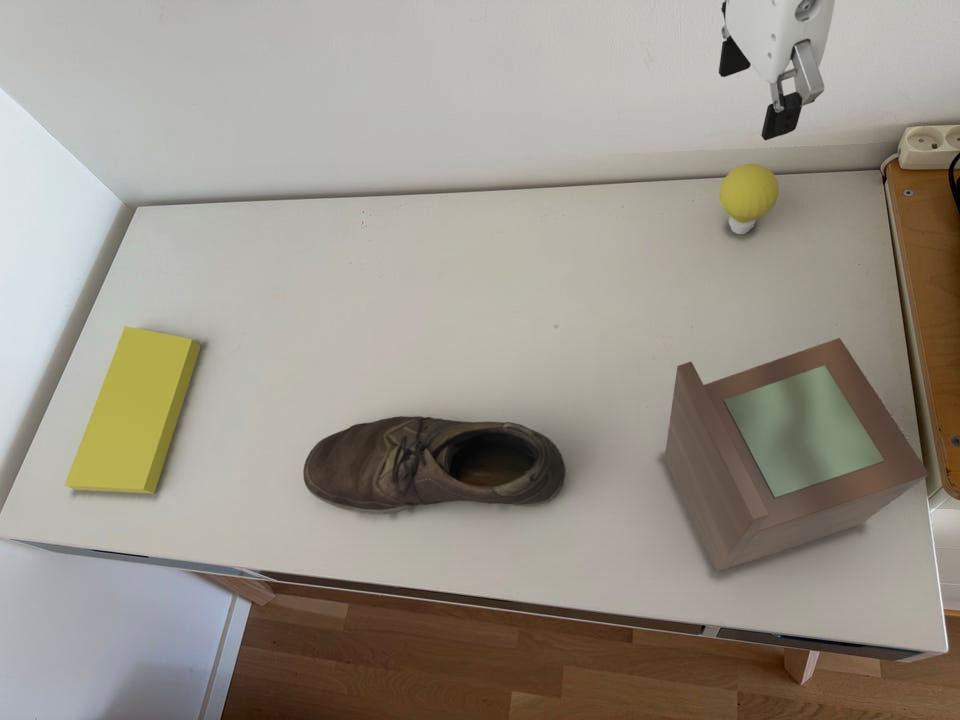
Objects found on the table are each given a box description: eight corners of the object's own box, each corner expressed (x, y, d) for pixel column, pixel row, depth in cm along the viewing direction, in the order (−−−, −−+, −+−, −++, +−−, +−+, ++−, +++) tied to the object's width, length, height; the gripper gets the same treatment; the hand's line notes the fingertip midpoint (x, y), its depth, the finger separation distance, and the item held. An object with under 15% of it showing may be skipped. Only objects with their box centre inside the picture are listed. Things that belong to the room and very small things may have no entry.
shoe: (332, 415, 84) (297, 384, 76) (571, 437, 76) (563, 404, 68) (306, 506, 80) (266, 484, 71) (559, 539, 72) (549, 519, 63)
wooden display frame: (794, 413, 72) (861, 301, 51) (859, 525, 66) (964, 449, 45) (664, 458, 73) (677, 365, 52) (715, 572, 67) (753, 520, 46)
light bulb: (776, 214, 84) (792, 159, 75) (757, 254, 82) (771, 203, 73) (725, 200, 87) (735, 145, 78) (705, 238, 85) (713, 187, 76)
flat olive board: (154, 493, 85) (205, 331, 95) (143, 489, 83) (196, 324, 93) (76, 489, 88) (134, 333, 98) (64, 485, 86) (124, 326, 96)
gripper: (900, -29, 46) (835, 147, 61) (784, -142, 54) (753, 37, 69) (796, 8, 47) (757, 174, 62) (698, -110, 55) (685, 61, 70)
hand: (755, 101), depth 65 cm, fingers open, 9 cm apart
